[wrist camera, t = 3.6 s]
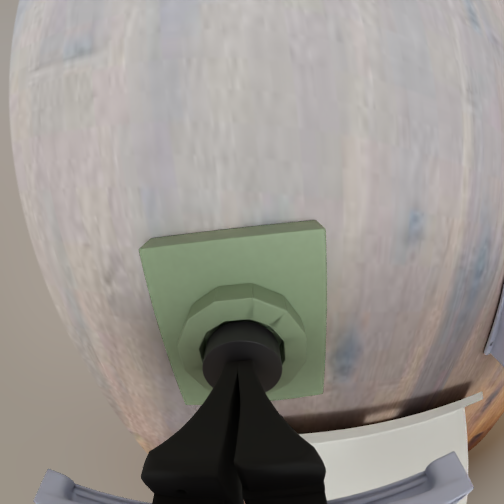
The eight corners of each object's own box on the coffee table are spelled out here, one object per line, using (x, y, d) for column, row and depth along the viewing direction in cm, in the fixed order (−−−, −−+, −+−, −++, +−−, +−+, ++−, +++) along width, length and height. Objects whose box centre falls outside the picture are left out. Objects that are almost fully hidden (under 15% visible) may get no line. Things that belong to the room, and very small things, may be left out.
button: (281, 374, 15) (284, 394, 14) (213, 379, 16) (210, 400, 14) (276, 317, 14) (280, 336, 13) (199, 324, 14) (194, 343, 13)
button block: (317, 374, 20) (328, 411, 16) (189, 385, 20) (181, 423, 16) (316, 219, 16) (336, 237, 13) (150, 238, 17) (125, 260, 13)
